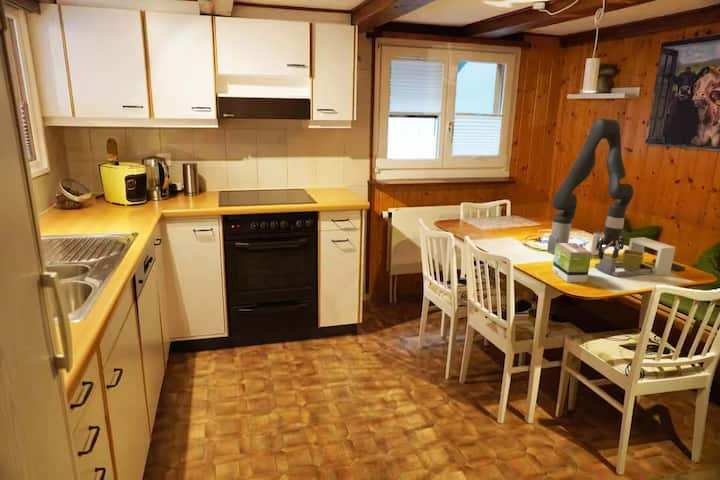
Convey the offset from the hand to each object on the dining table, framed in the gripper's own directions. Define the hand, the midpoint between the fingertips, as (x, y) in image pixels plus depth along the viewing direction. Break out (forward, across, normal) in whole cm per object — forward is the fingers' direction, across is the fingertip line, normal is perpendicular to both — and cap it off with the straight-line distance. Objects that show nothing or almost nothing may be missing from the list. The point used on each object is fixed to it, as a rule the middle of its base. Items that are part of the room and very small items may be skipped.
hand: (607, 258), depth 234 cm
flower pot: (+7, +16, 0) cm, 17 cm away
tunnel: (+7, +26, 0) cm, 27 cm away
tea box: (+7, -23, -2) cm, 24 cm away
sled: (+7, +10, -1) cm, 12 cm away
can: (+8, +19, +26) cm, 33 cm away
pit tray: (+7, +40, 0) cm, 41 cm away
